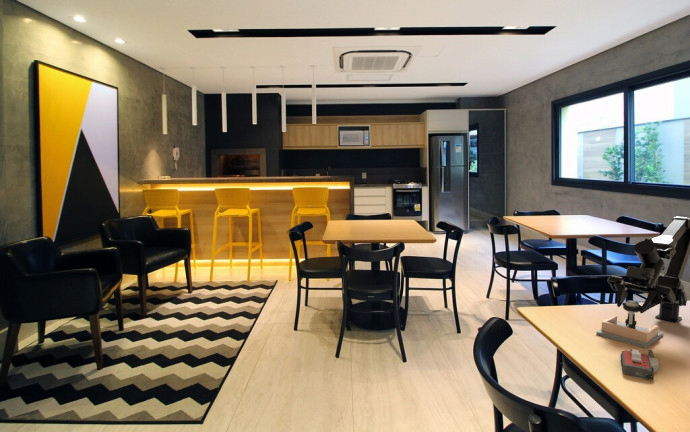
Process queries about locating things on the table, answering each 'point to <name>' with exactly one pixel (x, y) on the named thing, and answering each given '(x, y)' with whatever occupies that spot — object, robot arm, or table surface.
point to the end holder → (629, 333)
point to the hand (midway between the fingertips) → (629, 309)
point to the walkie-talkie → (639, 364)
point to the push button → (631, 313)
